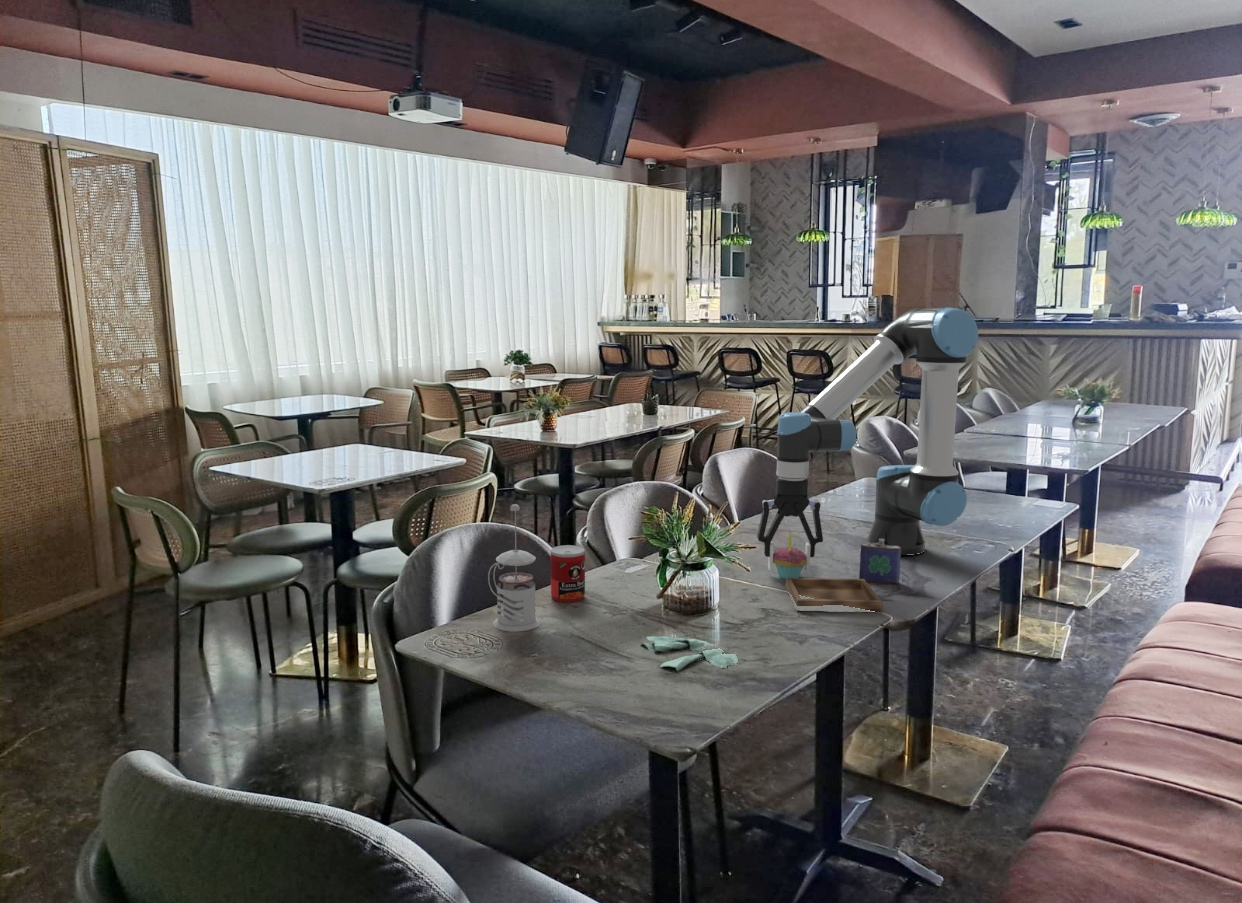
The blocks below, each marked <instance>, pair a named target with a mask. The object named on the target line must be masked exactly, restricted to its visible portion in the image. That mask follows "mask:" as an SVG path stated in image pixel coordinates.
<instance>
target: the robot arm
mask: <svg viewBox="0 0 1242 903" xmlns="http://www.w3.org/2000/svg"><path fill="white" fill-rule="evenodd" d="M978 330H979V329H978V325H977V323H976V321H975V319H974V318H973V317H972V316H971V314H969V312H968V311H966V310H964V309H961V308H954V307H948V306H947V307H917V308H913V309H911V310H909V311H905V312H904V313H903V314H901V315H900V316H898V317H897V318H895V319H893V321H892V322H889V324H888V325H886V326H885V327H883V329H882V330H880V332H879V333H878V334H877V335H875V336H874V337H873V343H872V345H871V346H869V347H868V348H867V349H866V350H865V351H864V352H863V353H862V354H861V355H859V356H858V358H856V359H855V360H854V361H853V362H852V363H851V364H850V365H848V366H847V367H846V368H845V370H843V371H842V372H841V373H840V374H839V375H837V377H836V378H834V379H833V381H831V383H829V385H827V386H826V387H825V388H824V389H823V390H822V391H821V392H820V393H819V394H818V395H816V396H815V397H814V398H813V399H812V400H811V401H810V402H809V403H807V405H806V406H805V407H804V408H802V409H800V411H798V412H797V411H795V412H792V411H791V412H783V413H781V414H780V415H779V418H778V422H777V423H778V424H777V431H776V433H777V445H776V446H777V447H776V448H777V449H776V450H777V451H776V472H775V474H776V476H777V477H776V479H775V495H774V497H773V499H769V500H767V499H763V500H762V501H761V502H762V503H761V504H762V512H761V516H760V517H761V518H760V522H759V525H758V529H757V530H758V531H757V534H756V538H757V540H758V541H759V542H761V543H764V545H763V546H764V547H763V548H764V550H763V552H764V553H763V554H764V557H766V558H767V557H768V559H767V563H768V564H767V569H768V570H769V572H773V570H774V562H773V554H774V543H773V539H774V536H775V535H776V533H777V531H778V529H779V526H780V525H781V522H782V520H784V517H796V518H797V517H798V518H799V522H800V523H801V526H802V528H803V530H804V532H805V535H806V537H807V540H808V541H806V542H805V545H804V546H805V547H804V550H805V551H804V554H806V556H807V564H806V565H804V569H805V572H807V573H809V572H810V570H811V569H810V568H811V558H814V557H815V550H816V546H817V545H816V544H819V543H822V542H823V541H824V537H823V529H822V524H821V516H820V509H821V507H822V505H821V502H819V501H818V500H810V499H809V497H808V495H809V494H808V492H809V491H808V489H809V480H808V477H809V470H810V469H809V468H810V467H809V466H810V464H809V463H810V462H809V461H810V453H817V452H818V453H819V452H821V453H822V452H839V453H840V452H843V451H849V450H851V449H852V448H854V446H855V444H856V442H857V429H856V425H854V422H852V421H851V420H848V419H840V418H838V417H839V416H840V415H841V414H842V413H844V411H845V410H847V409H848V408H849V407H850V406H851V405H852V404H853V403H854V402H856V400H858V399H859V398H860V397H861V396H862V395H863V394H864V393H865V392H866V391H867V390H868V389H870V387H871V386H873V384H874V383H876V382H877V381H878V380H879V379H880V378H881V377H883V376H884V374H885V373H887V372H888V371H889V370H890V369H891V368H892V367H893V366H894V365H900V364H902V363H903V362H904V361H905V360H906V359H908V358H909V357H911V356H915V355H916V361H915V362H916V364H917V365H918V366H919V367H920V368H921V385H920V387H921V388H920V402H919V406H920V407H919V419H918V421H919V422H918V437H917V454H916V463H915V464H902V465H901V464H897V465H895V464H894V465H884V466H883V465H882V466H881V467H879V468H878V469H877V472H876V479H875V483H876V484H875V486H876V487H875V503H874V506H875V509H874V511H875V512H874V519H873V523H872V525H871V528H870V530H869V533H868V535H867V538H866V543H867V544H868V542H870V543H872V544H873V543H875V544H876V543H878V542H879V539H881V538H882V539H885V540H884V546H899V547H900V548H901V555H907V554H917V553H921V552H923V551H924V550H926V542H925V539H924V538H925V537H924V534H923V530H922V527H921V522H920V521H922V522H923V523H925V524H927V525H933V526H938V527H943V526H948V525H951V524H953V523H955V522H956V521H958V518H960V517H961V516H962V515H963V513H964V511H965V510H966V508H967V502H968V495H967V492H966V490H965V488H964V486H962V484H960V483H959V470H957V468H956V467H955V466H954V464H953V463H954V452H955V451H954V450H955V434H956V422H957V421H956V420H957V406H958V405H957V404H958V403H957V402H958V390H959V389H958V388H959V386H958V385H959V373H960V372H959V371H960V370H961V369H962V368H963V367H964V366H965V365H966V364H967V356H968V355H969V354H971V353H972V352H973V350H974V348H976V346H977V344H978V340H979V331H978ZM774 505H775V507H776V508H777V512H776V514H775V517H774V518H773V521H772V523H771V525H770V527H769V529H768V530H767V533H766V529H767V525H768V524H767V523H768V520H769V514H770V510H771V509H772V508H773V506H774ZM808 506H809V507H810V510H811V511H812V518H813V525H814V526H813V527H814V531H815V532H814V533H815V536H814V535H813V532H812V531H811V530H812V529H811V528H810V525H809V523H808V521H807V518H806V515H805V513H804V511H805V510H806V509H807V507H808ZM765 534H766V535H765Z"/></svg>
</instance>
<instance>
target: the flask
mask: <svg viewBox="0 0 1242 903" xmlns="http://www.w3.org/2000/svg"><path fill="white" fill-rule="evenodd" d="M884 540H885V539H882V538H881V539H879V542H878V543H876V544H875V543H873V544H872V543H870V542H868V544H867V542H866V543H861V544H860V551H859V552H860V556H859V558H860V559H859V572H858V573H859V574H858V576H859V577H858V579H865V581H866V582H867V583H868V584H881V585H891V584H893V585H899V584H898V583H900V575H901V574H900V572H901V557H902V556H901V548H900V547H899V546H884Z"/></svg>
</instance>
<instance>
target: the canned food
mask: <svg viewBox="0 0 1242 903" xmlns="http://www.w3.org/2000/svg"><path fill="white" fill-rule="evenodd" d="M585 550H586V549H585V548H584V547H582V546H578V545H574V544H573V545H572V544H566V545H557V546H554V547H552V548H551V549H550V594H551V598H552V600H554V601H557V602H561V603H575V602H579V601H581V600H583V599H584V597H585V594H586V551H585Z"/></svg>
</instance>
